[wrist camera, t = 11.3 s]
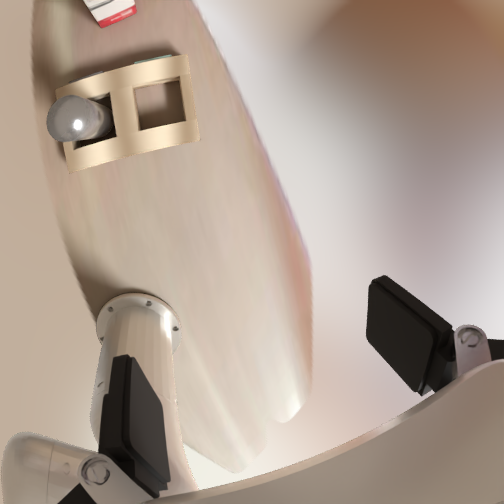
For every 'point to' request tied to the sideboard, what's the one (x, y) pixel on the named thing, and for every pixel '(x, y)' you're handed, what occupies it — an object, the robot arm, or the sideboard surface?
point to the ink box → (110, 10)
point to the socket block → (132, 110)
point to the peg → (78, 119)
